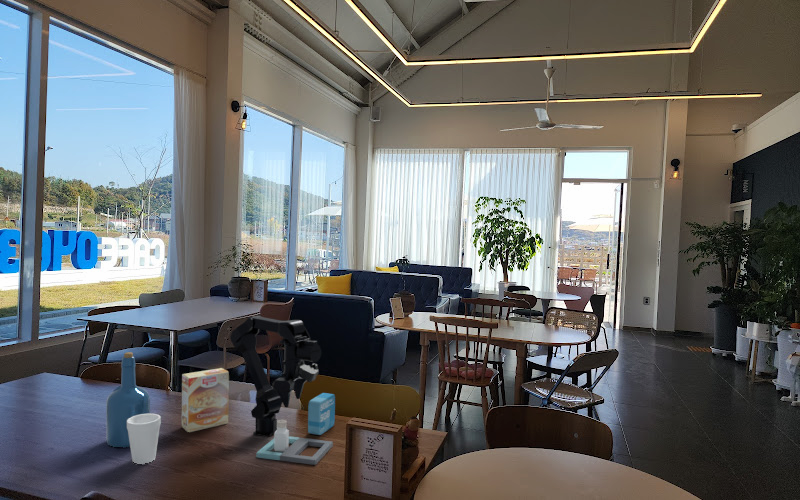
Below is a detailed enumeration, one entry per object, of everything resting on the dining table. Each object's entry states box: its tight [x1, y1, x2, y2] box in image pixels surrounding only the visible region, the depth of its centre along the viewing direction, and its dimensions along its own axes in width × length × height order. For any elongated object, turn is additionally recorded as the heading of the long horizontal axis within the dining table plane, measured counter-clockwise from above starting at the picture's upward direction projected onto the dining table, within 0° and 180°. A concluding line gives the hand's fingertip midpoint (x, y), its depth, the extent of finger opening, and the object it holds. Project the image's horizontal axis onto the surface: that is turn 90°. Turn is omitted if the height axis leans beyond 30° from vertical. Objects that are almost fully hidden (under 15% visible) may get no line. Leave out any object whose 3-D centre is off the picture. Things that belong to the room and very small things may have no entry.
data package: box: [307, 392, 336, 436], centre depth 195 cm, size 12×4×12 cm, turn 160°
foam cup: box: [127, 413, 162, 465], centre depth 167 cm, size 10×9×13 cm
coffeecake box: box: [181, 367, 230, 433], centre depth 197 cm, size 15×7×20 cm, turn 131°
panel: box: [255, 435, 334, 466], centre depth 176 cm, size 20×15×2 cm
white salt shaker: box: [273, 419, 290, 453], centre depth 177 cm, size 4×4×10 cm
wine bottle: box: [105, 351, 151, 449], centre depth 181 cm, size 14×13×30 cm
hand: (292, 402), depth 184 cm, fingers open, 9 cm apart
